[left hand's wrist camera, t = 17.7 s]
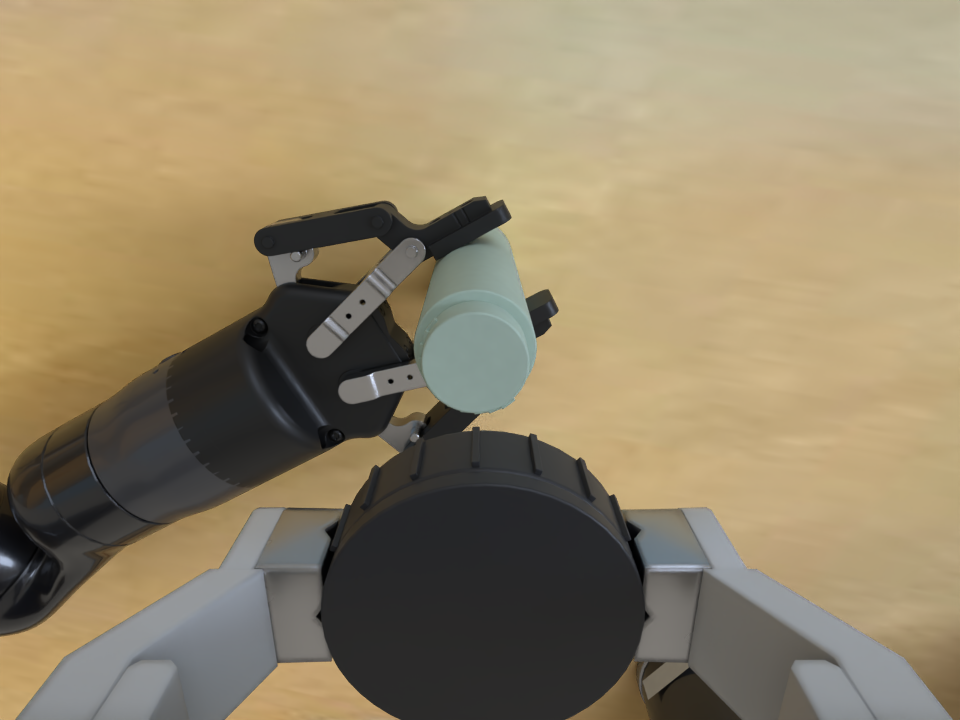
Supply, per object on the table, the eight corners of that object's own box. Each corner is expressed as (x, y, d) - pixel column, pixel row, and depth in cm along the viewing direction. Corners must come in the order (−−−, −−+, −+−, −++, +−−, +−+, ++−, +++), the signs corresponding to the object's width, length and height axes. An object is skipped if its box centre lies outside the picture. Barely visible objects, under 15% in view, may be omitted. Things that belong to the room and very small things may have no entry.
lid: (593, 674, 11) (610, 756, 10) (330, 645, 11) (307, 726, 10) (657, 446, 10) (689, 504, 8) (347, 406, 9) (322, 459, 8)
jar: (424, 249, 34) (382, 352, 19) (482, 204, 33) (488, 274, 18) (468, 306, 35) (462, 446, 20) (526, 264, 34) (566, 376, 19)
